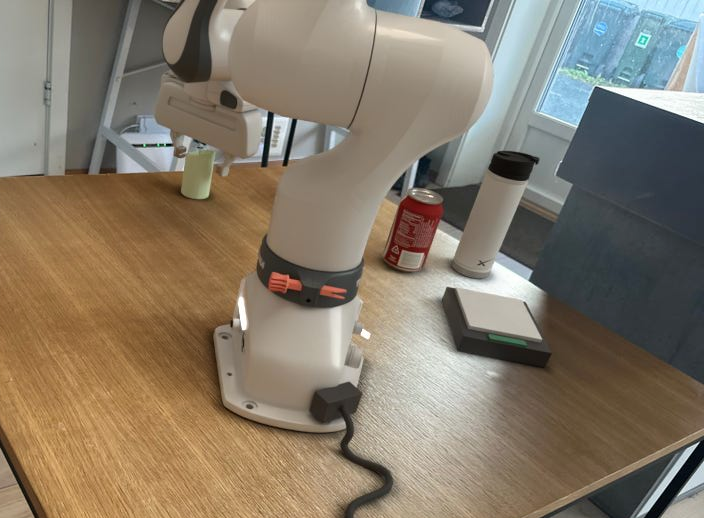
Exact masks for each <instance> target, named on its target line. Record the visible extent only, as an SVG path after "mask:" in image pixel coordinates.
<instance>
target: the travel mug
mask: <svg viewBox="0 0 704 518" xmlns="http://www.w3.org/2000/svg"><path fill="white" fill-rule="evenodd" d="M539 163H540V157H538V156H534V155H531V154H528V153H525V152H520V151H514V150H498V151H497V152H494V153H493V155H492V157H491V159H490V163H489V164H488V167H487V168H486V172H485V174H484V176H483V179H482V182H481V185H480V187H479V190H478V192H477V196H476V197H475V200H474V203H473V206H472V208H471V210H470V214H469V216H468V219H467V220H466V221H467V222H466V224H465V227H464V229H463V232H462V235H461V237H460V240H459V242H458V245H457V248H456V250H455V252H454V256H453V258H452V260H451V267H452V269H454V271H456V272H457V273H459V274H461V275H463V276H465V277H468V278H472V279H485V278H487V277H489V275H490V273H491V271H492V268H493V266H494V264H495V261H496V259H497V258H498V254H499V252H500V249H501V247H502V245H503V242H504V240H505V238H506V235H507V233H508V231H509V229H510V225H511V223H512V222H513V221H512V220H513V218H514V216H515V213H516V211H517V208H518V207H519V204H520V202H521V199H522V197H523V194H524V192H525V190H526V187H527V185H528V182H529V180H530V177H531V174H532V172H533V169H534V166H535V165H536V166H537V165H539Z"/></svg>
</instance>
